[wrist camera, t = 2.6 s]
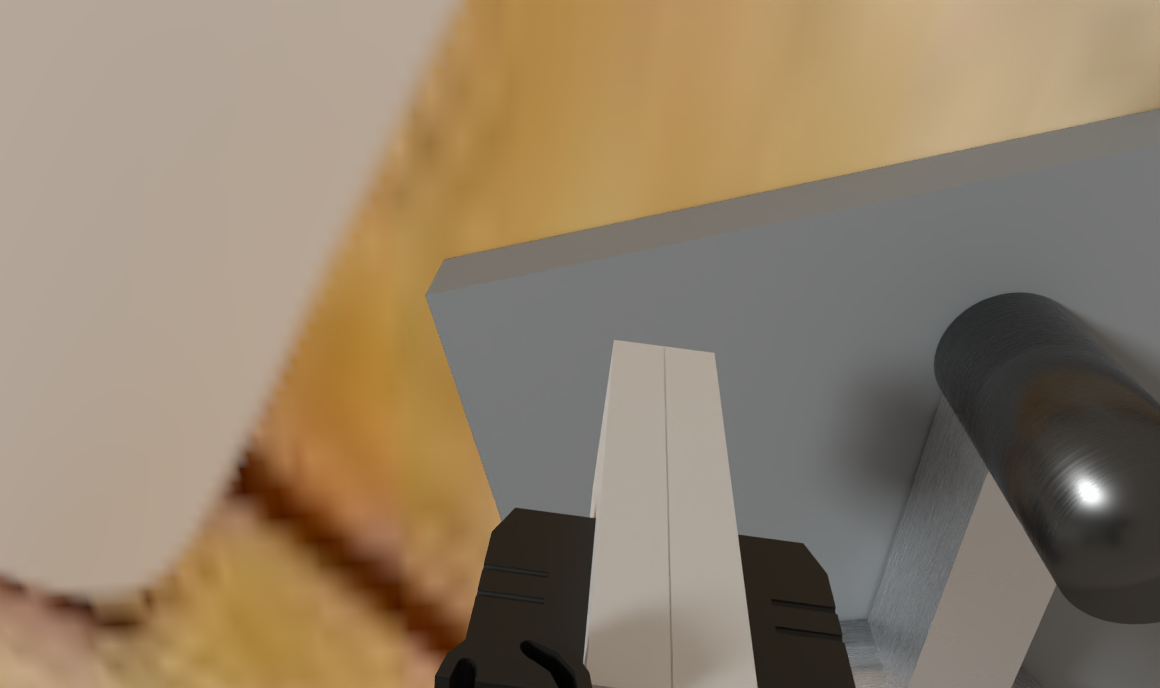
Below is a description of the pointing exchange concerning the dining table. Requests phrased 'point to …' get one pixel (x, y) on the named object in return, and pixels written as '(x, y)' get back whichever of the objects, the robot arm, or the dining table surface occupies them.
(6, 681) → the dining table surface
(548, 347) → the stand
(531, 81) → the dining table surface
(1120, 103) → the dining table surface
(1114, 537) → the cam lever
